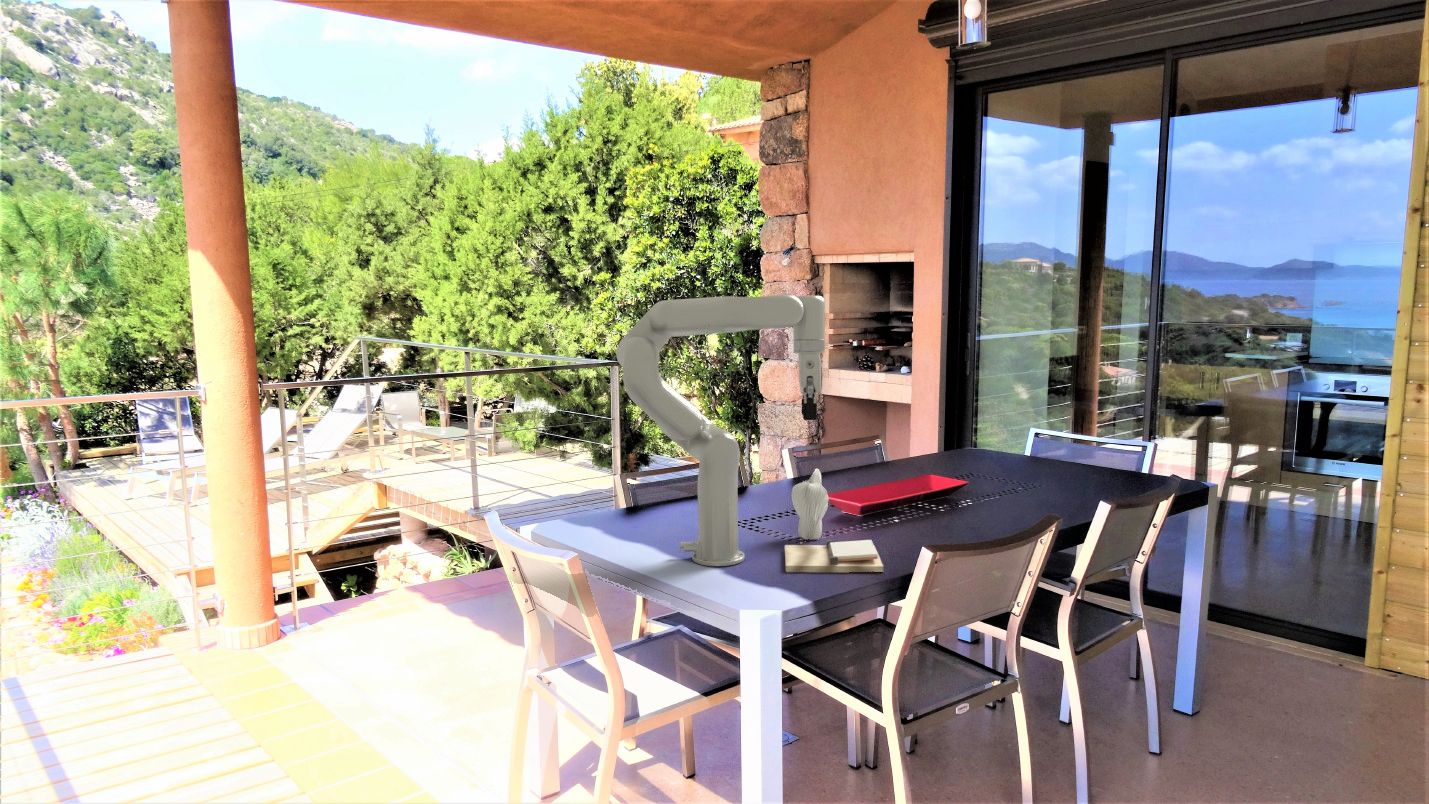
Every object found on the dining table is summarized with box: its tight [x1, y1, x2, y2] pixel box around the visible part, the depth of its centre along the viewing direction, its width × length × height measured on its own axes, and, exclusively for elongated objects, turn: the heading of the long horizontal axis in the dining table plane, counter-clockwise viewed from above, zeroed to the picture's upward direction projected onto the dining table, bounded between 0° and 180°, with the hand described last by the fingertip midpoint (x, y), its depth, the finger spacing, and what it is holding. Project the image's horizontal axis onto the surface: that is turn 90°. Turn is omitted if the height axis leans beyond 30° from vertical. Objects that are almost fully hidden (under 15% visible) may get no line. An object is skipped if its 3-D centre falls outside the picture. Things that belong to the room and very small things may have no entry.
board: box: [784, 539, 884, 573], centre depth 204 cm, size 22×17×3 cm
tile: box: [828, 539, 879, 562], centre depth 204 cm, size 11×12×1 cm
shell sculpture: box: [790, 468, 830, 541], centre depth 224 cm, size 8×8×18 cm
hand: (808, 417), depth 210 cm, fingers open, 9 cm apart
